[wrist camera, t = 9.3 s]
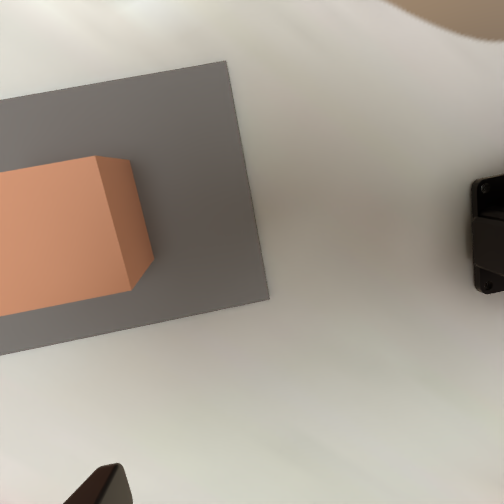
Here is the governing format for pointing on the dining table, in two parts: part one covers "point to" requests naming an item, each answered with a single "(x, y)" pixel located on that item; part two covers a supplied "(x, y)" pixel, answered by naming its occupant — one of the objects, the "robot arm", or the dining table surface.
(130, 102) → the mat
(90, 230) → the block
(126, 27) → the dining table surface
